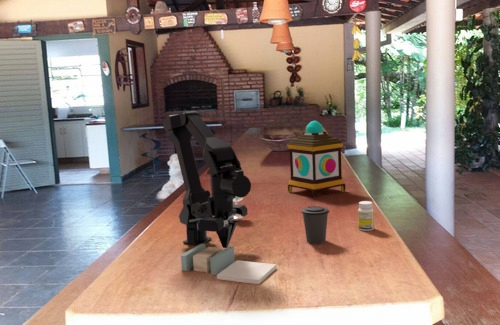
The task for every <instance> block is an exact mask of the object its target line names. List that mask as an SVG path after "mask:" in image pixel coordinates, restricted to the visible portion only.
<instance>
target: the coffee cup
mask: <svg viewBox="0 0 500 325" xmlns="http://www.w3.org/2000/svg"><path fill="white" fill-rule="evenodd" d="M300 213H301V214H302V217H303V224H304V231H305V238H306V242H307V243H308V244H312V245H319V244H324V243H325V242H326V240H327V239H326V238H327V228H328V227H327V225H328V214H329V213H330V210H329V209H328V208H327V207H323V206H317V205H316V206H314V205H313V206H306V207H305V208H302V209H301V211H300Z"/></svg>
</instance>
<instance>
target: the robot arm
mask: <svg viewBox="0 0 500 325" xmlns="http://www.w3.org/2000/svg"><path fill="white" fill-rule="evenodd" d="M162 126H163V130H164V131H165V133H166V137H167V139H168V140H169V141H170V142H171V143H172V144H174V147H175V152H176V156H177V160H178V165H179V168H180V172H181V177H182V182H183V186H184V188H185V189H184V190H185V192H184V196H183V199H182V205H183V206H182V208H181V210H180V212H179V215H178V218H179V223H180V224H183V225H185V226H186V231H185V232H186V239H185V240H183V241H182V243H183V244H188V245H189V244H190V245H196V246H198V245H199V244H206V243H207V242H209V241H211V240H212V237H211V236H208V232H214V233H215V232H216V234H217V237H218V239H219V242H220V244H221V248H222V249H226V248H227V247H229V245H230V241H231V239H232V237H233V234H234V232H235V230H236V227H237V225H238V223H239V222H240V221H239V219H234V218H233V216H235V215H236V214H238V215H240V216H242V217H243V218H244V217H245V216H248V208H247V206H246V205H244V204H238V205H235V203H234V202H233V199H234V198H236V197H240V198H242V197H243V198H245V197H246V196H248V195H249V193H250V191H251V189H252V183H251V181H250V178H249V177H248V176H247V175H245V174H244V170H243V169H242V168H243V167H242V166H241V162H240V160H239V158H238V157H237V154H236V152H235V151H234V150H235V149H233V148H234V147H232V146H231V144H229V143H228V142H227V141H225V140H223V139H220V138H218V137H216V135H215V134H214V132H212V130H211V129H210V127H209V126H208V125H207V124H206V123H205V121H204V120H203V119H202V116H201V114H200V112H199V111H196V110H192V111H183V112H181V113H179V114H170V115H169V114H168V115H167V116H166V117H165V119H163V122H162ZM192 138H193V139H194V140H195V142H197V143H198V146H200V147H201V149H202V157H203V158H202V159H203V160H204V162H205V164H206V165H207V167H208V170H207V171H206V174H207V175H209V176H210V177H209V178H210V190H208V189H207V190H206V189H204V187H203V186H202V182H201V179H200V178H201V177H200V174H199V171H198V165H197V161H196V159H195V153H194V148H193V145H192V141H191V140H192Z"/></svg>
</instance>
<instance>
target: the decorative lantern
mask: <svg viewBox="0 0 500 325" xmlns="http://www.w3.org/2000/svg"><path fill="white" fill-rule="evenodd" d="M286 146H287V148H288V150H289V163H290V164H289V165H290V179H289V181H288V184H287V191H288V192H289V193H292V192H293V188H297V189H303V190H306V191H311V193H312V197H313V198H314V199H316V198H317V195H318V194H317V193H318V192H319V191H323V190H328V189H333V188H337V187H340V190H341V193H344V192H346V182H345V180H344V179H343V177H342V176H343V175H342V173H343V172H342V148H343V146H344V141H342V140H341V139H339V137H333V136H332V135H330V134H329V133H327V131H324V128H323V125H322V124H321V123H320V122H319V121H318V120H312V121H310V122H309V123H308V124H307V125H306V128H305V132H302V133H301V134H300V135H299V136H298V137H297V138H292V139H291V140H290V141H288V143H286Z"/></svg>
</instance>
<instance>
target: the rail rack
mask: <svg viewBox="0 0 500 325" xmlns="http://www.w3.org/2000/svg"><path fill="white" fill-rule="evenodd" d="M206 245H207V244H206V243H204V244H199V245H196V246H194V247H193V248H191V249H189V250H188V251H186V252H184V253H182V254H181V255H180V260H181V261H180V264H181V271H184V272H188V271H190V270H191V269H192V268H193V269H194V265H193V256H194V255H195V254H197V253H199V252H201V251H202V250H204V249H206V248H207V246H206ZM235 261H236V260H235V247H234V246H228V247H227V248H223V249H222V251H221V252H219V253H218V254H216V255H215V256H213V257H212V258H210V264H211V270H210V273H211V275H216V276H217V274H219V273H220V272H222V271H223V270H224V269H226V268H227V267H228V266H230V265H231V264H233V263H234V262H235Z"/></svg>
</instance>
